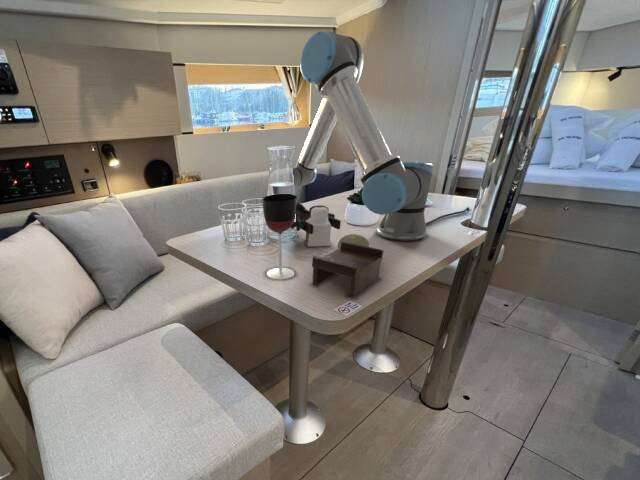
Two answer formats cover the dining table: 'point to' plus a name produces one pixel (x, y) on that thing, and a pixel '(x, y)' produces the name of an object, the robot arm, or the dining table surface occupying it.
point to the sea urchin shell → (354, 240)
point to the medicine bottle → (319, 226)
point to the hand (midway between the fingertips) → (325, 227)
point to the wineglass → (279, 225)
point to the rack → (349, 266)
